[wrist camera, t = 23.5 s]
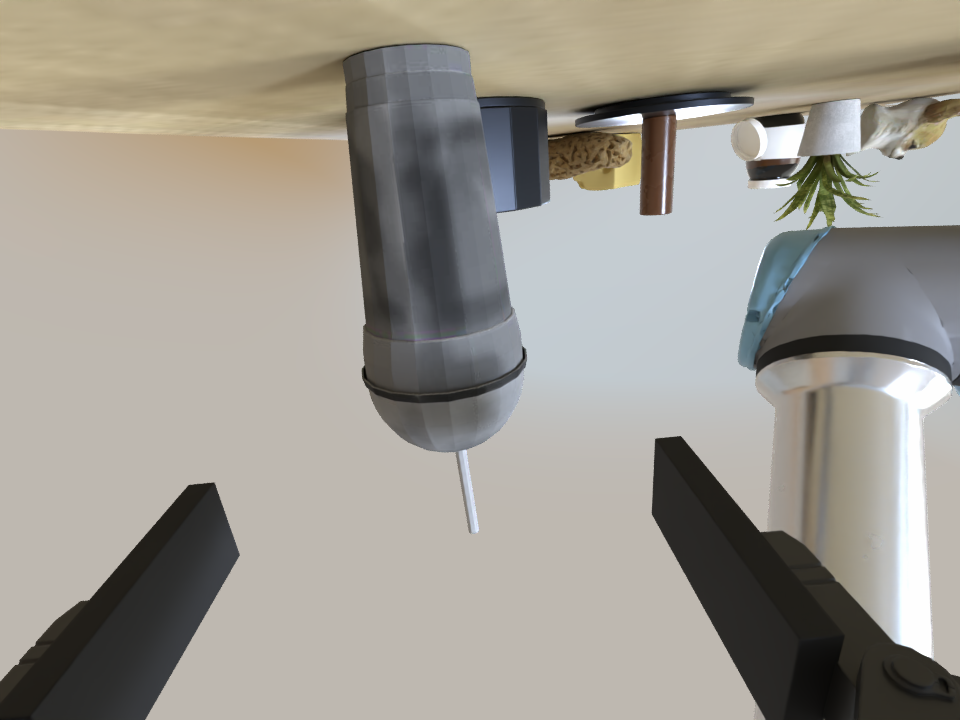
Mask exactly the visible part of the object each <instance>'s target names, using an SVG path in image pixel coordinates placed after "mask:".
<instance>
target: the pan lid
mask: <svg viewBox="0 0 960 720" xmlns="http://www.w3.org/2000/svg"><path fill="white" fill-rule="evenodd" d="M753 104H754V98H753V97H731V93H729V92H701V93H689V94H679V95H670V96H662V97H655V98H648V99H641V100H635V101H629V102H624V103H619V104H614V105H609V106H606V107H602V108H599V109H597V110H595V114H593V115H589V116H585V117H581V118H579V119H577V120H576V121H575V126H576V127H580V128H591V127H609V126H621V125H632V124H641V123H642V149H641V187H640V189H641V190H640V215H663V214H669V213H672V204H673V203H672V202H673V184H674V164H675V143H676V124H677V119H683V118H691V117H698V116H705V115H711V114H717V113H723V112H729V111H734V110H739V109H744V108H747V107H751V106H753Z"/></svg>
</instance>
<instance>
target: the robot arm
mask: <svg viewBox="0 0 960 720" xmlns="http://www.w3.org/2000/svg"><path fill="white" fill-rule="evenodd" d="M738 362H739V364H740V365H741V366H743V367H747V368H748V369H751V370H756V369H757V370H756V382H755V384H756V388H757V390H758V392H759V393H760V394H761V395H762V396H763V397H764V398H765V399H766V400H767V401H768V402H769V403H770V404H772V406H773V407H775V424H774V438H773V453H772V467H771V482H770V496H769V510H768V525H767V532H759V530H758V529H757V528H756V527H755V526H754V524H753V523H752V522H751V520H750V519H749V518H748V517H747V516H746V515H745V513H744V512H743V511H742V510H741V508H740V507H739V506H738V505H737V504H736V503H735V501H734V500H733V499H732V497H731V496H730V495H729V494H728V493H727V491H726V490H725V489H724V488H723V487H722V485H721V484H720V483H719V482H718V481H717V479H716V478H715V477H714V476H713V474H712V473H711V472H710V471H709V470H708V469H707V467H706V466H705V465H704V464H703V462H702V461H701V460H700V459H699V457H698V456H697V455H696V454H695V453H694V451H693V450H692V449H691V448H690V447H689V445H688V444H687V443H686V442H685V440H684V439H683V438H682V437H681V436H677V437H668V438H657V439H655V455H654V477H653V500H652V515H653V517H654V519H655V521H656V523H657V524H658V526H659V528H660V530H661V532H662V533H663V535H664V537H665V539H666V541H667V542H668V544H669V546H670V548H671V550H672V551H673V553H674V555H675V557H676V559H677V561H678V562H679V564H680V566H681V568H682V570H683V571H684V573H685V575H686V577H687V579H688V580H689V582H690V584H691V586H692V588H693V589H694V591H695V593H696V595H697V597H698V599H699V600H700V602H701V604H702V606H703V608H704V609H705V611H706V613H707V615H708V616H709V618H710V620H711V622H712V624H713V626H714V627H715V629H716V631H717V632H718V635H719V636H720V638H721V640H722V642H723V644H724V646H725V647H726V649H727V651H728V653H729V654H730V656H731V658H732V660H733V662H734V664H735V665H736V667H737V669H738V671H739V673H740V674H741V676H742V678H743V680H744V681H745V683H746V685H747V687H748V689H749V691H750V693H751V694H752V696H753V698H754V700H755V714H754V720H960V677H958V676H954V675H951V674H950V673H949V672H948V671H947V670H946V669H944V668H943V667H942V666H941V665H939V664H938V663H937V662H935V661H934V654H933V632H932V610H931V588H930V564H929V541H928V520H927V498H926V497H927V496H926V474H925V451H924V429H923V418H924V417H925V416H927V415H928V414H930V413H931V412H933V411H934V410H936V409H937V408H939V407H940V406H942V405H943V404H945V403H946V402H947V401H948V400H949V399H950V397H951V396H952V388H953V386H952V385H954V387H955V389H956V392H957V394H958V395H959V396H960V225H952V226H908V227H863V228H836V227H835V226H829V227H825V228H823V229H817V230H802V231H788V232H784V233H781V234H779V235H778V236H776V237H774V238H773V239H771V240H770V242H769V243H768V244H767V245H766V247H765V249H764V251H763V253H762V256H761V259H760V262H759V265H758V268H757V272H756V276H755V280H754V283H753V287H752V291H751V295H750V299H749V303H748V308H747V315H746V318H745V323H744V326H743V330H742V334H741V339H740V345H739V352H738ZM239 556H240V555H239V551H238V549H237V546H236V543H235V540H234V537H233V534H232V532H231V529H230V526H229V523H228V520H227V517H226V514H225V511H224V508H223V506H222V503H221V500H220V497H219V494H218V491H217V488H216V485H215V483H204V484H194V485H188V487H187V488H186V489H185V490H184V491H183V492H182V493H181V495H180V496H179V497H178V498H177V499H176V500H175V502H174V503H173V504H172V505H171V506H170V507H169V509H168V510H167V511H166V512H165V513H164V514H163V515H162V517H161V518H160V519H159V520H158V521H157V522H156V524H155V525H154V526H153V527H152V528H151V529H150V531H149V532H148V533H147V534H146V535H145V536H144V538H143V539H142V540H141V541H140V542H139V543H138V544H137V545H136V547H135V548H134V549H133V550H132V551H131V552H130V554H129V555H128V556H127V557H126V558H125V559H124V561H123V562H122V563H121V564H120V565H119V566H118V568H117V569H116V570H115V571H114V572H113V573H112V575H111V576H110V577H109V578H108V579H107V580H106V581H105V583H104V584H103V585H102V586H101V587H100V588H99V589H98V591H97V592H96V593H95V594H94V595H93V596H92V598H91V599H90V600H88V601H80V602H79V603H78V604H76V605H75V606H74V607H72V608H71V609H70V610H68V611H67V612H66V613H65V614H63V615H62V616H61V617H59V618H58V619H57V620H56V621H55V622H54V623H53V624H52V625H51V626H50V627H49V628H48V629H47V630H46V632H45V633H44V634H43V635H42V636H41V637H40V638H39V639H38V640H37V641H36V645H35V646H34V647H31V648H30V649H29V650H28V651H27V653H26V654H25V655H24V656H23V657H22V658H21V659H20V662H19V664H18V665H15V666H14V667H13V668H12V669H11V670H10V672H9V673H8V674H7V675H6V676H5V677H4V678H3V679H2V681H0V720H145V719H146V717H147V716H148V714H149V712H150V710H151V709H152V707H153V705H154V703H155V702H156V700H157V698H158V696H159V695H160V693H161V691H162V690H163V688H164V686H165V684H166V682H167V681H168V679H169V677H170V676H171V674H172V672H173V670H174V669H175V667H176V665H177V663H178V662H179V660H180V658H181V656H182V655H183V653H184V651H185V650H186V647H187V646H188V644H189V642H190V641H191V639H192V637H193V636H194V634H195V632H196V630H197V629H198V627H199V625H200V623H201V622H202V620H203V618H204V616H205V615H206V613H207V611H208V609H209V608H210V606H211V604H212V603H213V601H214V599H215V597H216V595H217V593H218V592H219V590H220V589H221V587H222V585H223V583H224V582H225V580H226V578H227V576H228V575H229V573H230V571H231V569H232V568H233V566H234V564H235V562H236V561H237V559H238V557H239Z"/></svg>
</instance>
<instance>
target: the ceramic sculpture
mask: <svg viewBox="0 0 960 720" xmlns="http://www.w3.org/2000/svg"><path fill="white" fill-rule="evenodd" d="M955 116H960V99H949V100H944V101H941V102H940V101H938V100H936V99H932V98H916V99H911V100H908V101H905V102H903V103H900V104H898V105H895V106H892V107H883V106H881V105H878V104H871V105H869V106H867V107H866V108H865V109H864V111H863V113H862V115H861V116H860V130H861V151H863V150H866V149H870V148H876V149H879V150H880V151H881V152H882V154H883V155H884V156H888V157H889V158H895V159H898V160H900V159H902V158H903V157H904V155H905V154H906V152H907V150H916V149H920V148H924V147H927V146H929V145H930V144H932V143H933V142H934V141H936V140H937V139H938V138H939V137H940V136H941V135H942V134H943V132H944V130H945V128H946V122H947V120H948V119H950V118H952V117H955ZM861 151H860V152H861ZM854 153H857V152H852V153H846V156H850V155H852V154H854Z"/></svg>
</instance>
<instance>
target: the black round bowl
mask: <svg viewBox="0 0 960 720" xmlns="http://www.w3.org/2000/svg"><path fill="white" fill-rule="evenodd" d="M477 101H478V102H479V105H480V112H481V118H482V124H483V131H484V137H485V143H486V150H487V156H488V162H489V169H490V175H491V181H492V188H493V194H494V200H495V207H496V213H502V212H509V211H516V210H522V209H526V208H532V207H536V206H541V205H544V204H546V203H549V202H550V184H549V156H548V129H547V110H545V103H544V101H543V100H540V99H536V98H526V97H487V98H477Z"/></svg>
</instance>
